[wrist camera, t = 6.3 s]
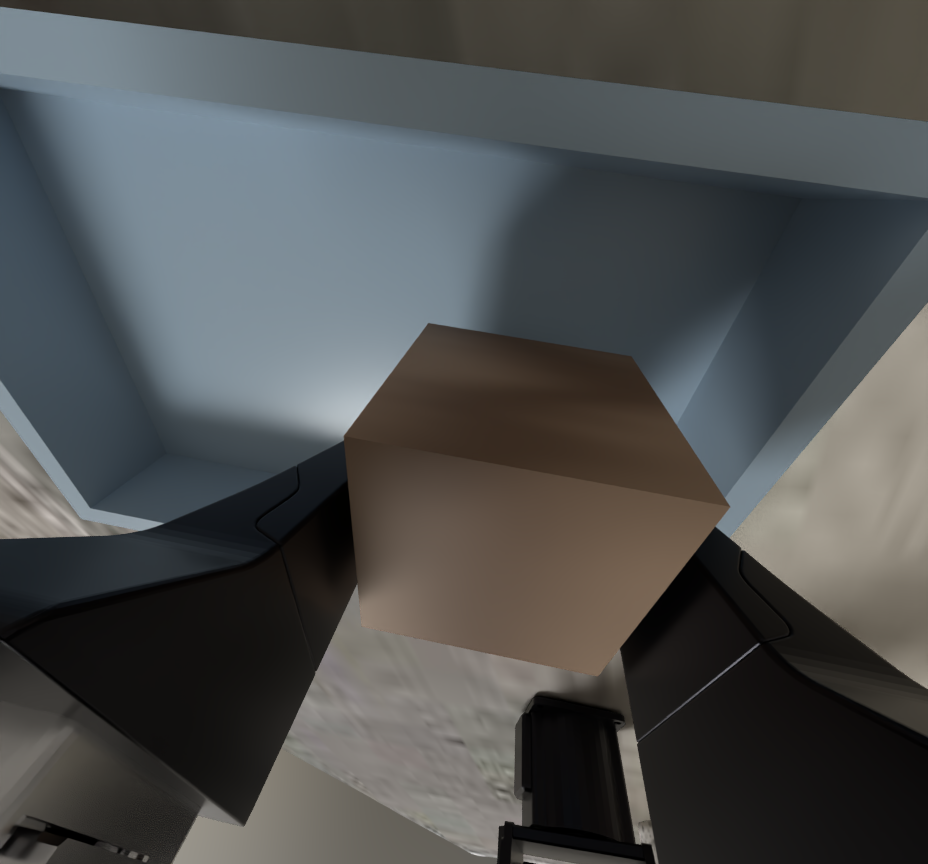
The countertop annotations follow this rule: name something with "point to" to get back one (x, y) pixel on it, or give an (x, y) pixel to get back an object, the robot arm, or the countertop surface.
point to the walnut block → (520, 498)
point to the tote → (414, 250)
